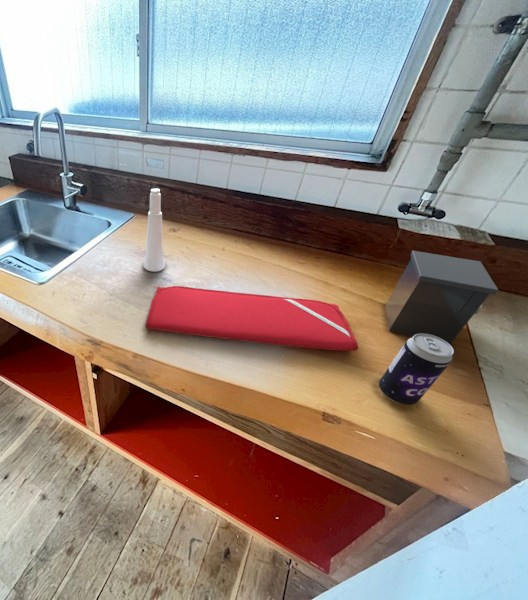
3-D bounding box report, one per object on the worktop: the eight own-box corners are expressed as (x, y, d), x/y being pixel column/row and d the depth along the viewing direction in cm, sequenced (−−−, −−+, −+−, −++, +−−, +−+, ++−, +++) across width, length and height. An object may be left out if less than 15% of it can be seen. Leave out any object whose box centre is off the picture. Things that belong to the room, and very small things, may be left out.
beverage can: (382, 403, 54) (418, 354, 47) (372, 377, 58) (403, 328, 51) (421, 411, 53) (465, 361, 45) (409, 384, 57) (446, 335, 50)
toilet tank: (441, 316, 71) (480, 261, 62) (452, 347, 63) (498, 290, 55) (382, 303, 75) (412, 250, 67) (386, 331, 68) (420, 275, 59)
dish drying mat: (157, 290, 82) (157, 278, 80) (333, 310, 74) (338, 297, 72) (145, 331, 70) (145, 318, 68) (353, 360, 62) (361, 346, 59)
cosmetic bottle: (139, 265, 93) (138, 189, 80) (156, 259, 96) (157, 184, 82) (152, 274, 89) (152, 195, 76) (169, 267, 92) (172, 190, 78)
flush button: (471, 308, 64) (480, 297, 62) (475, 316, 62) (484, 305, 60) (453, 305, 65) (461, 294, 64) (456, 312, 63) (465, 301, 62)
